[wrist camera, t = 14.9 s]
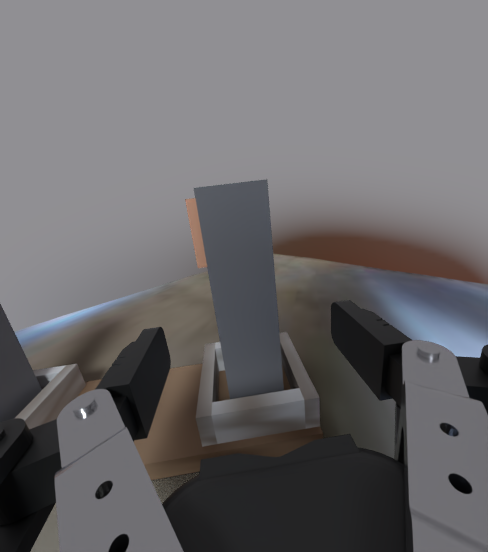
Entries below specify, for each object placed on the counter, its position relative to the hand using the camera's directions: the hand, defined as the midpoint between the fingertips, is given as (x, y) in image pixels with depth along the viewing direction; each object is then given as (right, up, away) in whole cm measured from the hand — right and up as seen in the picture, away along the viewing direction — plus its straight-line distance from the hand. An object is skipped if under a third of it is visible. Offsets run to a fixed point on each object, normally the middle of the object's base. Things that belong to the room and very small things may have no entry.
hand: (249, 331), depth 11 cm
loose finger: (+1, -7, +8) cm, 11 cm away
